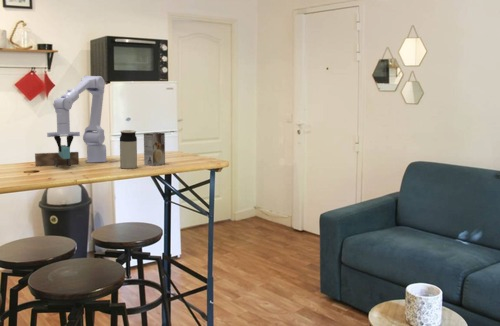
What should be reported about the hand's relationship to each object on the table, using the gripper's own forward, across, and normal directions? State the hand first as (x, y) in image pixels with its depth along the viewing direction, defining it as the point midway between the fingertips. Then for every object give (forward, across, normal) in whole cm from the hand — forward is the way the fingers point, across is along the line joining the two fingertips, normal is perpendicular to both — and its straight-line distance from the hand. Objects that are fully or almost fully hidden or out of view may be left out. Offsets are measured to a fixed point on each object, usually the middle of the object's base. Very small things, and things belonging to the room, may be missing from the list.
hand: (64, 151), depth 247 cm
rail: (+3, 0, 0) cm, 3 cm away
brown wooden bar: (+8, -2, +8) cm, 11 cm away
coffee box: (+8, +43, -5) cm, 44 cm away
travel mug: (+8, +28, -11) cm, 31 cm away
